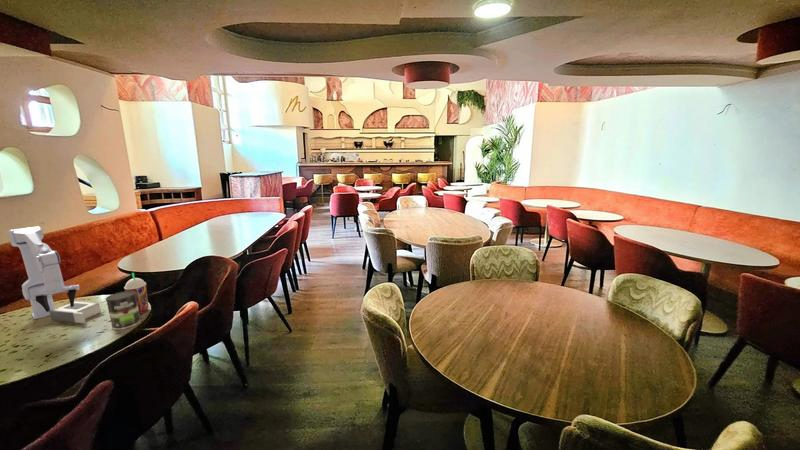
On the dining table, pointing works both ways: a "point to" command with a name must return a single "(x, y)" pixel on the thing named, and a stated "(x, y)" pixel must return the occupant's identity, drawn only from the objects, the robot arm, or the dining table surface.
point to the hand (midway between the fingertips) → (60, 308)
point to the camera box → (82, 308)
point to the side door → (67, 316)
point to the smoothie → (138, 292)
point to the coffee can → (123, 310)
